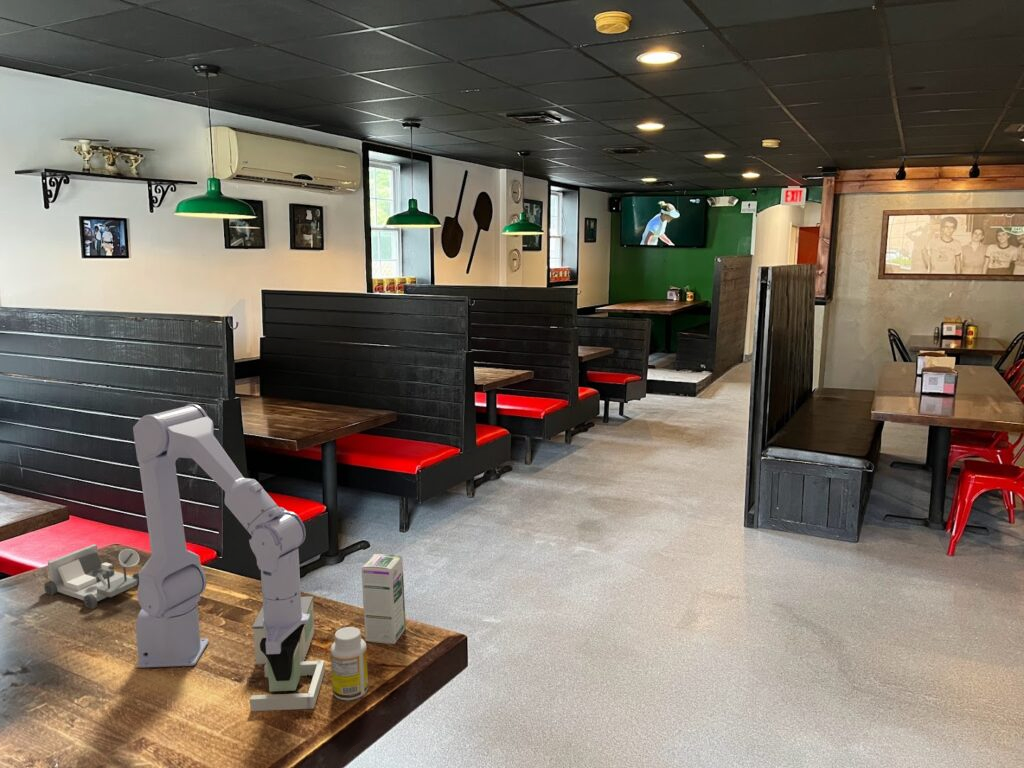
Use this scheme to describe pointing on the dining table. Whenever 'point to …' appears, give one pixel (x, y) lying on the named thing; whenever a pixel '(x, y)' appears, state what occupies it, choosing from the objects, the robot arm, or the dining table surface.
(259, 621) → the box
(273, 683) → the block
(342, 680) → the supplement bottle
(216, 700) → the dining table surface
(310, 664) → the dock
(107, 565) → the toy car
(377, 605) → the syrup box
